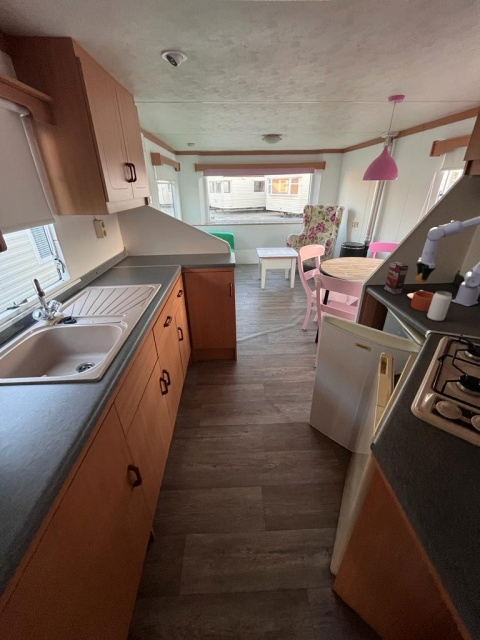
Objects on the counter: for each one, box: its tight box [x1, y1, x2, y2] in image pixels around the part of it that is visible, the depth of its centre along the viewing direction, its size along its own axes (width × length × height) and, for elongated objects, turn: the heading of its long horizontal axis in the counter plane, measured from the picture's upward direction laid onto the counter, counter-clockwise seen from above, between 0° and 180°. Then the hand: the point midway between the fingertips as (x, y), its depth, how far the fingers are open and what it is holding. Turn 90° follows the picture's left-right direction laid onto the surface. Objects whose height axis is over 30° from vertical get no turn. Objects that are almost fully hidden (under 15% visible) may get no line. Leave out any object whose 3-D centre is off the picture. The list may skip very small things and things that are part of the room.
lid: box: [407, 289, 425, 300], centre depth 139 cm, size 11×11×5 cm
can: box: [426, 290, 453, 322], centre depth 116 cm, size 6×6×12 cm
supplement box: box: [383, 261, 409, 295], centre depth 147 cm, size 9×5×16 cm, turn 10°
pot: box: [410, 290, 435, 313], centre depth 129 cm, size 10×10×6 cm
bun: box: [414, 273, 429, 283], centre depth 141 cm, size 5×5×4 cm
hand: (421, 278), depth 141 cm, fingers closed on bun, 5 cm apart
